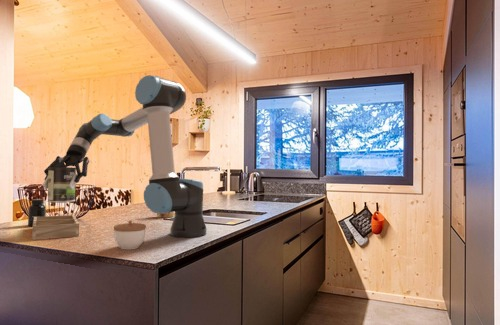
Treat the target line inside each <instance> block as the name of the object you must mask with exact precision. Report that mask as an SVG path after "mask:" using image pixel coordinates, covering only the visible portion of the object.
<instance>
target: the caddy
mask: <svg viewBox="0 0 500 325" xmlns="http://www.w3.org/2000/svg"><path fill="white" fill-rule="evenodd" d="M31 235H32V237H31V238H32V239H31V240H33V241H34V240H45V239H46V240H47V239H49V238H50V239H61V238H72V237H80V222H79V221H78V218H77V217H76V216H75V214H71V215H70V214H67V215H66V214H65V215H50V216H46V215H45V217H34V221H33V226H32V232H31Z"/></svg>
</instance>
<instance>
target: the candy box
mask: <svg viewBox="0 0 500 325" xmlns="http://www.w3.org/2000/svg"><path fill="white" fill-rule="evenodd" d="M174 215H175V211H174V212H168V213H156V218H174Z"/></svg>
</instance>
